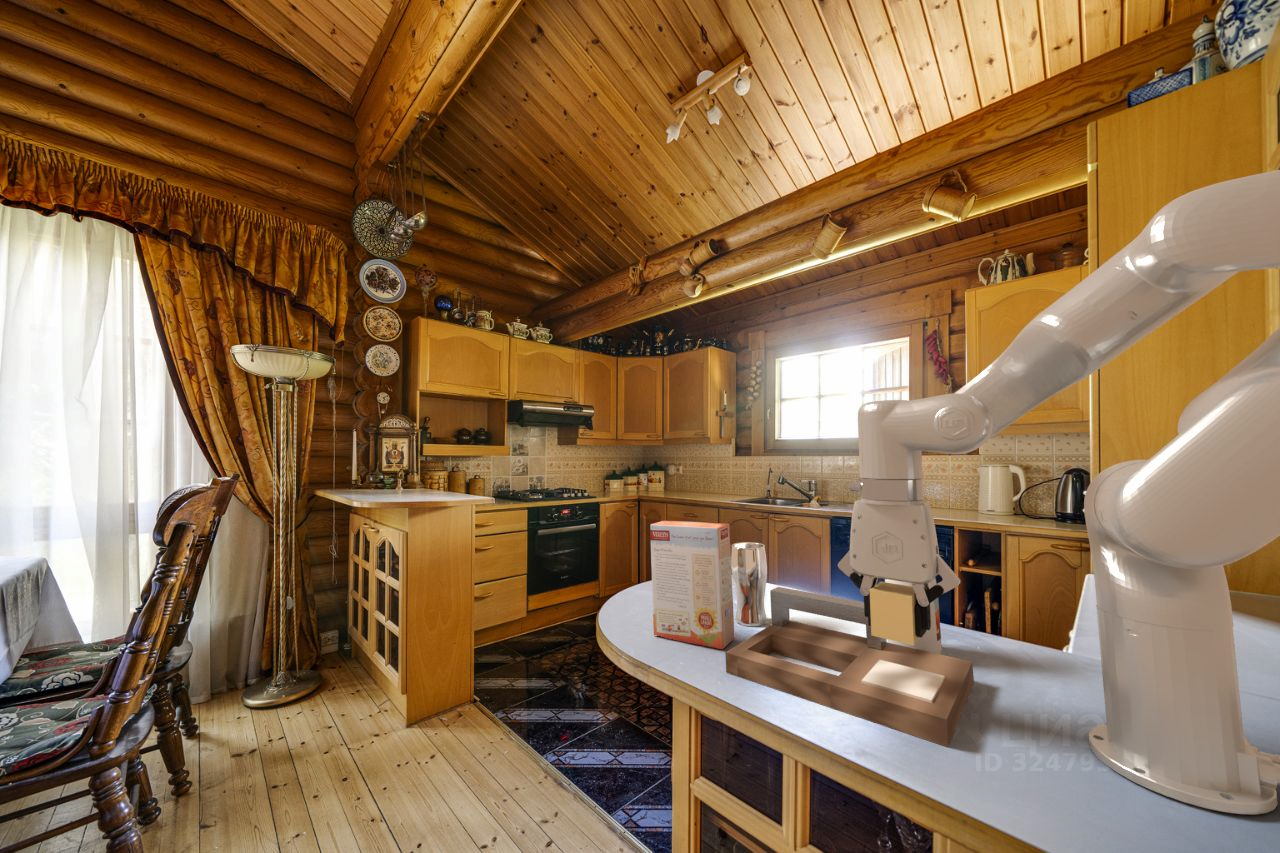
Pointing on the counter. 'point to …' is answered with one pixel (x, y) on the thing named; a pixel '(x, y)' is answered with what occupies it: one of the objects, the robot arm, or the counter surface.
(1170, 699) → the robot arm
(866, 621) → the gray bridge block
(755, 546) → the beer glass
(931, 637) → the milk bottle
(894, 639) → the ochre block
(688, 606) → the cracker box
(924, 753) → the counter surface
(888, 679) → the brown wooden divided tray
